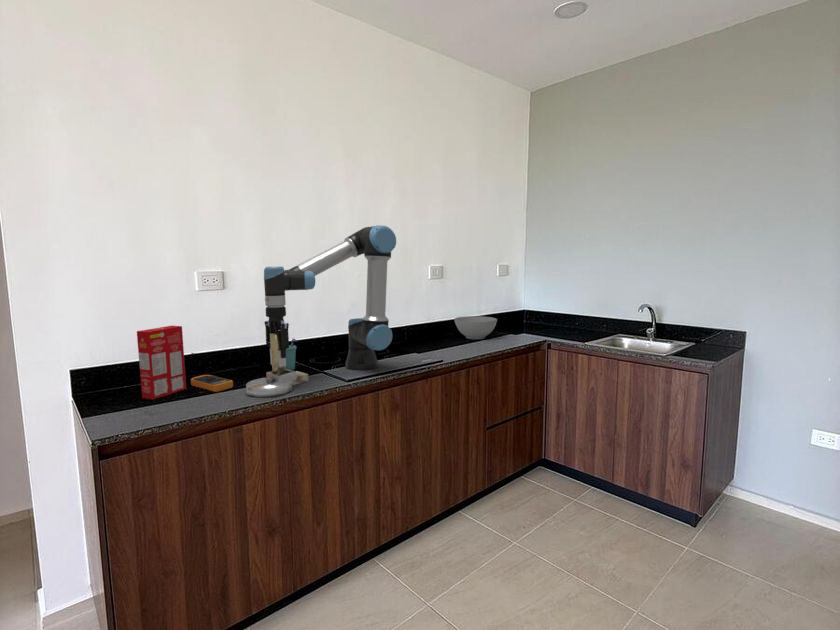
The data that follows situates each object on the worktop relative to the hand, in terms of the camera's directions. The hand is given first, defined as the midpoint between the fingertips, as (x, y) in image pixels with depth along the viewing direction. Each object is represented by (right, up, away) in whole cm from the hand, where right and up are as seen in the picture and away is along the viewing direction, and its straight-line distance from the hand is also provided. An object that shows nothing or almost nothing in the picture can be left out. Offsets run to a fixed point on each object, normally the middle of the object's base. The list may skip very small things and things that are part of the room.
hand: (278, 364), depth 181 cm
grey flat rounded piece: (-2, -10, -3) cm, 10 cm away
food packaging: (-41, -10, -6) cm, 43 cm away
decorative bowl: (+91, +5, +111) cm, 143 cm away
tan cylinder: (0, -5, +1) cm, 5 cm away
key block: (+4, -8, +10) cm, 13 cm away
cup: (-4, -6, +30) cm, 31 cm away
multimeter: (-28, -10, +3) cm, 30 cm away
